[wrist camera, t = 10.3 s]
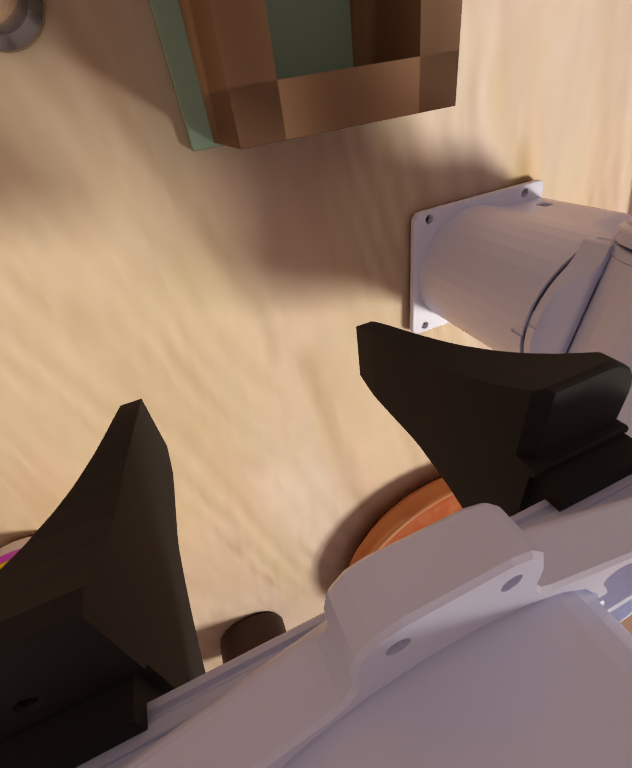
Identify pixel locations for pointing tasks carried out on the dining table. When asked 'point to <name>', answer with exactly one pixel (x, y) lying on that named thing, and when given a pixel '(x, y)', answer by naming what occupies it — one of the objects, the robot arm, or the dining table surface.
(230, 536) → the dining table surface
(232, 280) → the dining table surface
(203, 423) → the dining table surface
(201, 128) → the green rubber mat
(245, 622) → the vinegar
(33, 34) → the metal door knob
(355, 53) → the walnut C-link
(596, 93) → the dining table surface
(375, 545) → the saucer
